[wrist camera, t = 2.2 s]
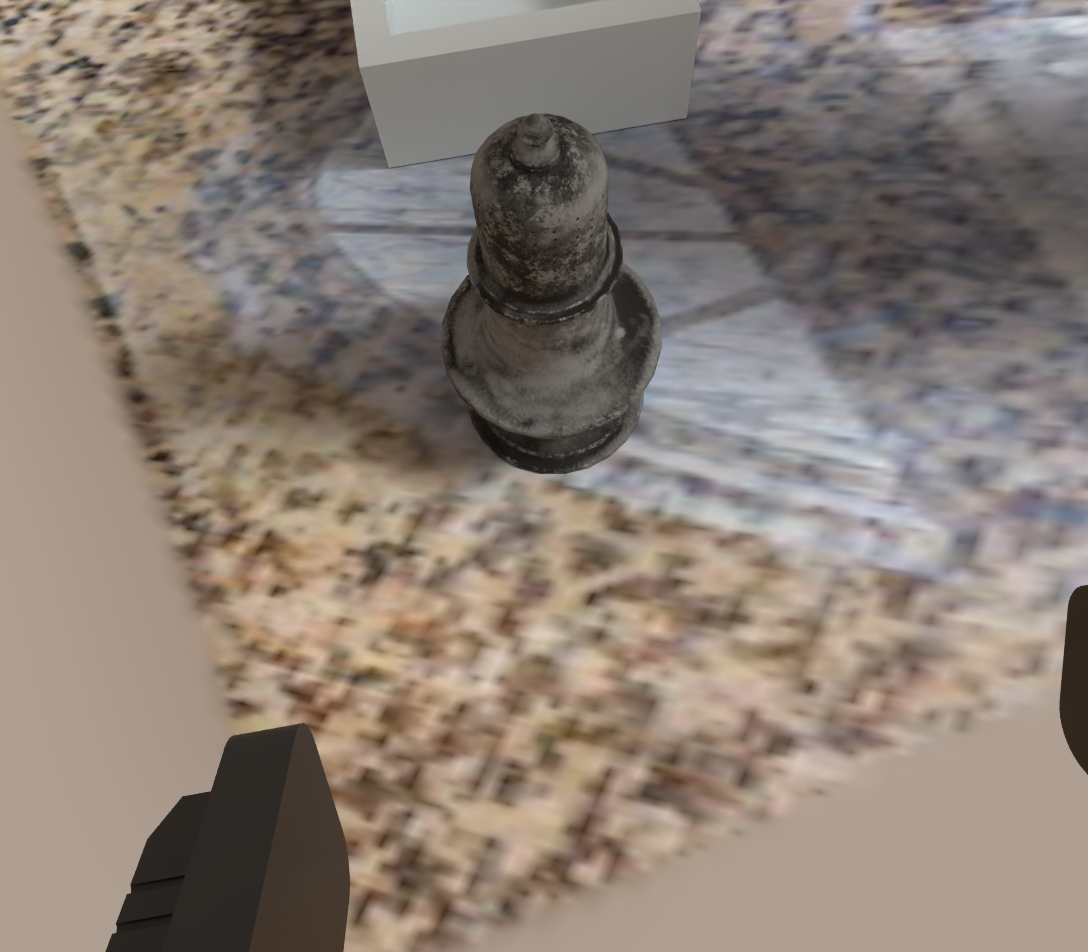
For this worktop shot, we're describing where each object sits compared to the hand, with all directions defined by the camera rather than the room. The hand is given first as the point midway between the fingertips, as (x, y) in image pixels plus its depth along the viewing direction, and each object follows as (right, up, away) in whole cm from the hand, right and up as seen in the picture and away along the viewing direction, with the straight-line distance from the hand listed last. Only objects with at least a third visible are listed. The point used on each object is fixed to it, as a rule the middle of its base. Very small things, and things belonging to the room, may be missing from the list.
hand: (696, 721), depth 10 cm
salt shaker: (-1, +5, +19) cm, 20 cm away
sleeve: (-3, +18, +24) cm, 30 cm away
